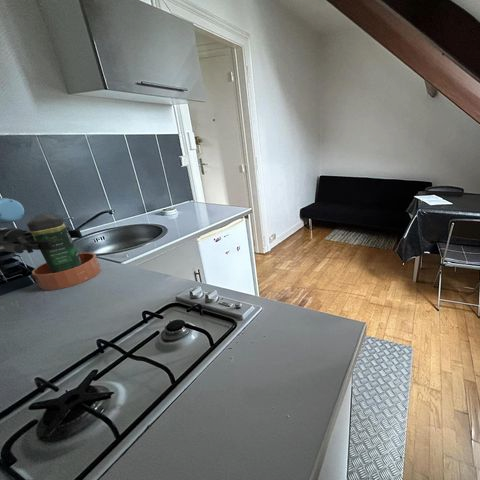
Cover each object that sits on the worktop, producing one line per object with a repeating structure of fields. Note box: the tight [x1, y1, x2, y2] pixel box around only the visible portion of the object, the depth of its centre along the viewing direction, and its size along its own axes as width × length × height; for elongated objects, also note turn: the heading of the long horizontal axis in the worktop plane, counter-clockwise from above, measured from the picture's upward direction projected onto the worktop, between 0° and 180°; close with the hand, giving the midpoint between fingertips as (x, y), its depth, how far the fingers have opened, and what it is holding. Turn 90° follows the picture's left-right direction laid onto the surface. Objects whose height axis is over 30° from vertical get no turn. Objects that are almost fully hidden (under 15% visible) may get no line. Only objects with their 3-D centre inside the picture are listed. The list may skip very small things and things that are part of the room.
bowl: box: [31, 252, 102, 291], centre depth 89 cm, size 16×16×6 cm
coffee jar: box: [26, 212, 81, 273], centre depth 85 cm, size 10×8×19 cm
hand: (65, 239), depth 83 cm, fingers closed on coffee jar, 8 cm apart
